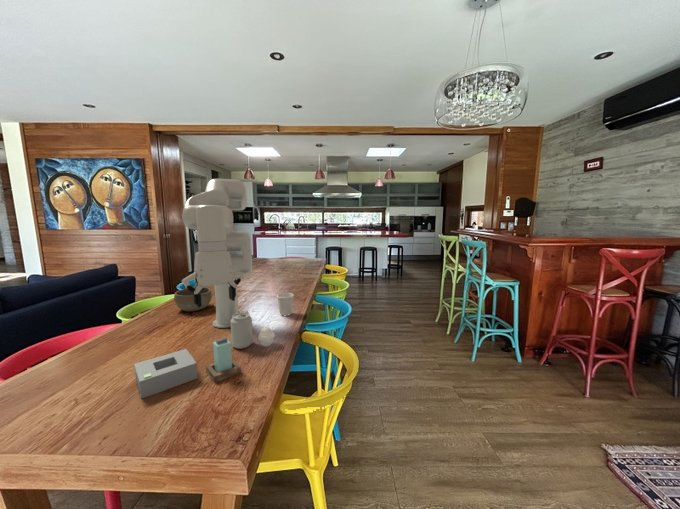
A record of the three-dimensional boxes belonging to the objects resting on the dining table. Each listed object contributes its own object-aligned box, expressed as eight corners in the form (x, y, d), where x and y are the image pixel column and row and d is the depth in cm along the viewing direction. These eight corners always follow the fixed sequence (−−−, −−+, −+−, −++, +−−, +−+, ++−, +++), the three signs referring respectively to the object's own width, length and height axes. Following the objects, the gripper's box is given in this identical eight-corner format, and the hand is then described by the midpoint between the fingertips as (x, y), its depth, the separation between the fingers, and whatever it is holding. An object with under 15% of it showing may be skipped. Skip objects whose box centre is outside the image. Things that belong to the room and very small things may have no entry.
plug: (227, 367, 88) (225, 335, 87) (232, 372, 86) (230, 339, 84) (214, 372, 86) (212, 339, 84) (219, 377, 83) (217, 343, 81)
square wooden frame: (231, 362, 91) (231, 357, 91) (241, 372, 85) (240, 366, 85) (206, 371, 86) (205, 365, 86) (214, 383, 80) (214, 376, 80)
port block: (187, 362, 91) (186, 347, 90) (197, 378, 82) (196, 361, 82) (135, 379, 82) (134, 362, 81) (141, 398, 73) (139, 380, 72)
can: (256, 342, 106) (255, 312, 105) (244, 351, 99) (242, 319, 98) (240, 339, 109) (239, 310, 107) (227, 347, 102) (225, 317, 100)
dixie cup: (287, 310, 143) (287, 291, 142) (297, 314, 137) (297, 294, 136) (274, 314, 137) (273, 295, 136) (283, 318, 131) (282, 298, 130)
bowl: (202, 314, 136) (201, 295, 135) (167, 314, 137) (165, 295, 135) (218, 303, 153) (217, 286, 152) (187, 303, 154) (185, 286, 152)
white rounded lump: (276, 346, 103) (276, 328, 102) (260, 350, 100) (260, 332, 99) (272, 339, 108) (271, 323, 107) (256, 343, 105) (255, 326, 104)
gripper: (237, 244, 89) (239, 295, 91) (176, 248, 78) (181, 305, 80) (246, 246, 83) (248, 300, 86) (182, 250, 72) (187, 312, 74)
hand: (216, 302), depth 83 cm, fingers open, 9 cm apart
